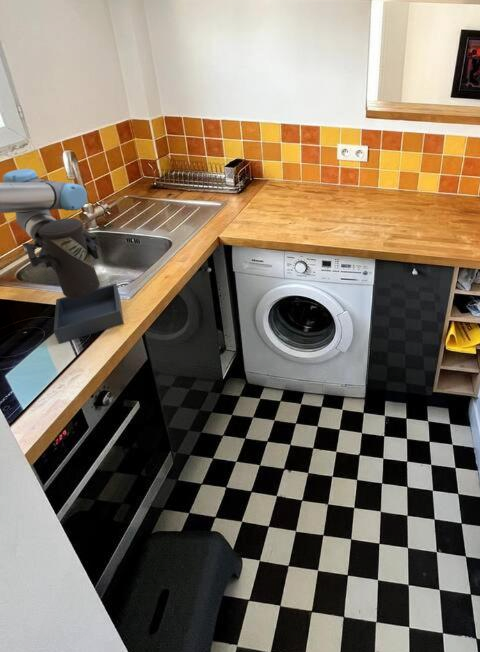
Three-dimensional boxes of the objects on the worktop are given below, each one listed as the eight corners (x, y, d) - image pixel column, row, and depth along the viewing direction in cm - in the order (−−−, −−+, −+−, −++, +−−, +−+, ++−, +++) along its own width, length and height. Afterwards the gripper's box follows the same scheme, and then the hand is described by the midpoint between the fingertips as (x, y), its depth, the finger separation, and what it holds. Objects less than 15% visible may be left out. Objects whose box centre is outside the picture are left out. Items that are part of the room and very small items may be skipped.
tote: (58, 344, 100) (53, 330, 98) (61, 311, 111) (56, 299, 109) (123, 323, 107) (120, 310, 105) (119, 295, 118) (116, 283, 116)
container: (87, 299, 101) (65, 232, 92) (53, 298, 101) (27, 231, 92) (108, 280, 108) (89, 216, 100) (76, 278, 108) (54, 214, 100)
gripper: (91, 230, 119) (124, 257, 106) (5, 257, 104) (31, 292, 91) (84, 208, 116) (117, 233, 103) (-5, 233, 101) (20, 265, 88)
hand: (77, 261), depth 97 cm, fingers closed on container, 8 cm apart
